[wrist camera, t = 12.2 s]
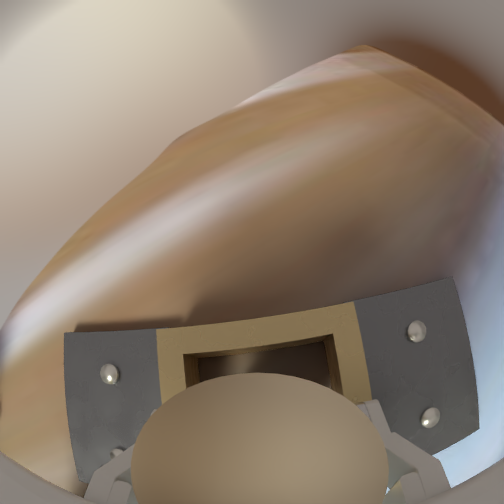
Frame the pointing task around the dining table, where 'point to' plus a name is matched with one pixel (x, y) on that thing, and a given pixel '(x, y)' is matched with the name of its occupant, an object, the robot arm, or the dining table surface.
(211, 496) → the hinge pin
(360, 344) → the hinge
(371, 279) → the dining table surface
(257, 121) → the dining table surface
